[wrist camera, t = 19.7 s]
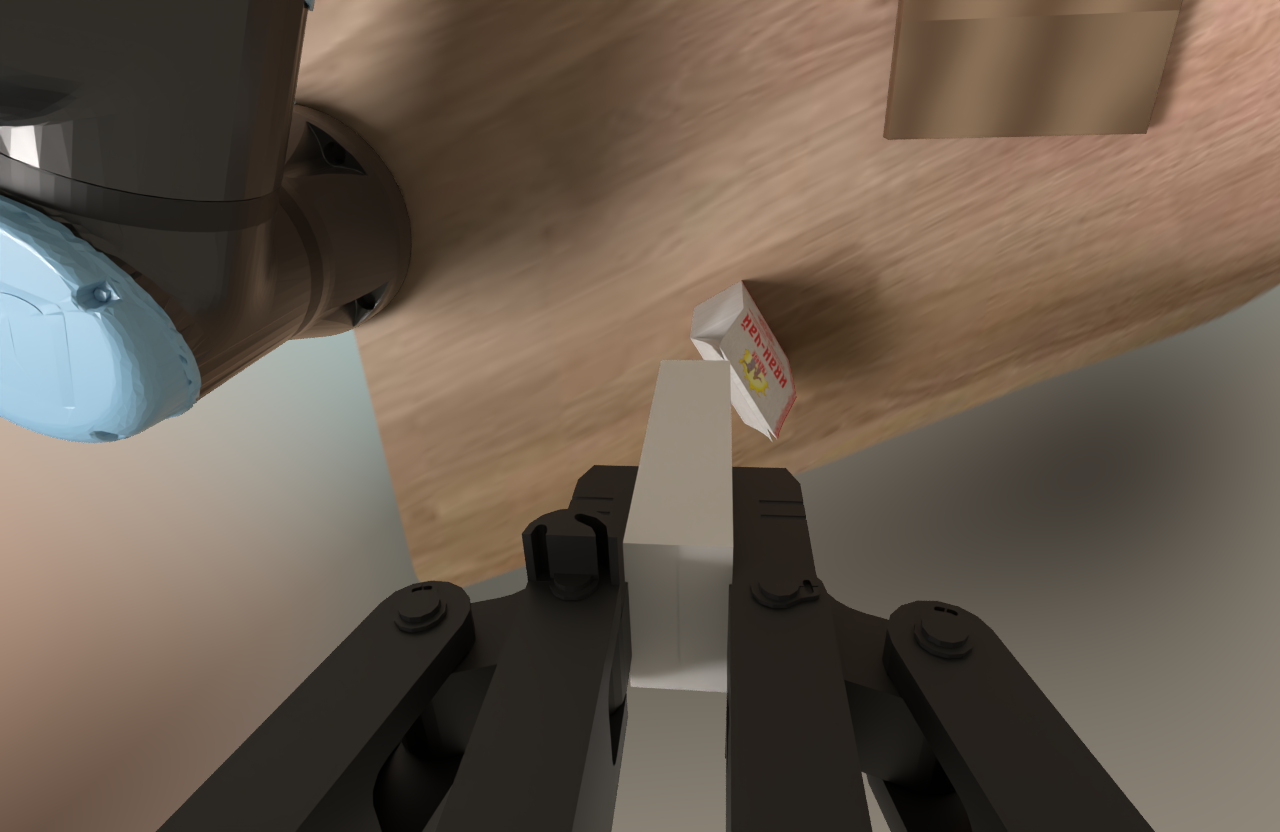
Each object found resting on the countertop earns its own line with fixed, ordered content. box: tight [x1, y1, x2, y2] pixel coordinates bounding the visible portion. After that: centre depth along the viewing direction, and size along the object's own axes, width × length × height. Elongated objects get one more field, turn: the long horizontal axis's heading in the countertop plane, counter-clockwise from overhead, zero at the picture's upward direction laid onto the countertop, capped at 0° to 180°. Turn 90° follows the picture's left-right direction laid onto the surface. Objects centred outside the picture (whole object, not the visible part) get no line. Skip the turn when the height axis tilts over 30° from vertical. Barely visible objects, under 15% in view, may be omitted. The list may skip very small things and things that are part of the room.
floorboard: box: [883, 0, 1182, 140], centre depth 38 cm, size 14×12×1 cm
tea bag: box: [690, 280, 796, 441], centre depth 44 cm, size 4×7×10 cm, turn 33°
